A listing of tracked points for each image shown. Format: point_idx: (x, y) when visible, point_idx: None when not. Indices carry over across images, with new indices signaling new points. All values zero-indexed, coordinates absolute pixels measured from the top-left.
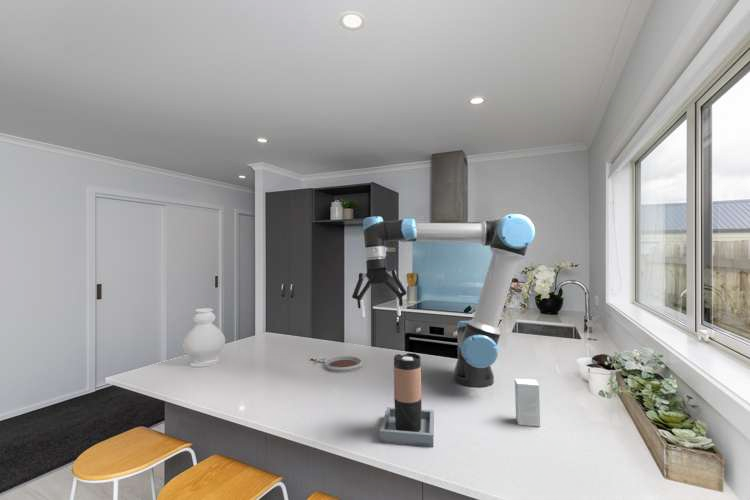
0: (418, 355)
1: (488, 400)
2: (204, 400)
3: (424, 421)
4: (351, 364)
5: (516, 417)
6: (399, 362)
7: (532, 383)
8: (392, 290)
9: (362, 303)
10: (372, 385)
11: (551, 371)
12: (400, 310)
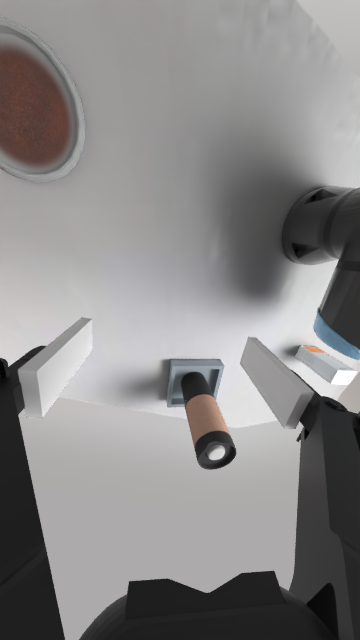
0: (235, 449)
1: (295, 306)
2: None
3: (210, 369)
4: (51, 117)
5: (300, 350)
6: (204, 465)
7: (345, 381)
8: (300, 481)
9: (57, 389)
10: (138, 262)
11: None
12: (264, 347)
